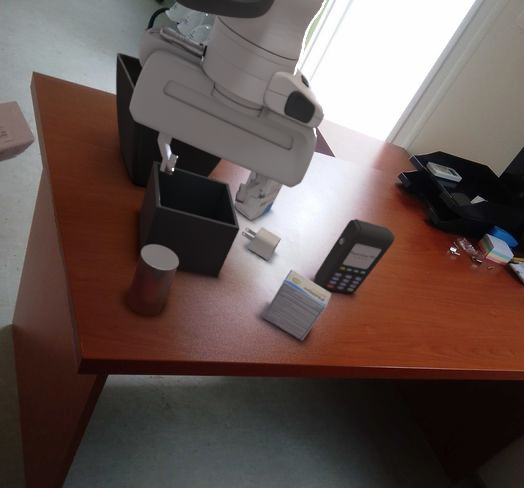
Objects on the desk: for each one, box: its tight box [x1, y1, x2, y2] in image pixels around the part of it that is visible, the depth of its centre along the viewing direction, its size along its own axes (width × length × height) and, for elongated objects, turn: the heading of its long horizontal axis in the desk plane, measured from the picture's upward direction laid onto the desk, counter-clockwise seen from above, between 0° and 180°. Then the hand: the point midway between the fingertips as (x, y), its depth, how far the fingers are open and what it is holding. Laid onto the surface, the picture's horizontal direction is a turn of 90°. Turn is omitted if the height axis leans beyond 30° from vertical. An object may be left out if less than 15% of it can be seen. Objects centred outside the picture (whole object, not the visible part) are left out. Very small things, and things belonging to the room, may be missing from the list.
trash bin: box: [139, 161, 241, 278], centre depth 77 cm, size 13×13×10 cm
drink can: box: [126, 244, 179, 317], centre depth 65 cm, size 5×5×9 cm
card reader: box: [314, 218, 395, 295], centre depth 87 cm, size 9×4×15 cm, turn 106°
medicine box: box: [262, 269, 332, 342], centre depth 75 cm, size 8×4×9 cm, turn 71°
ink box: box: [234, 171, 284, 221], centre depth 95 cm, size 9×5×12 cm, turn 150°
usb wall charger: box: [241, 226, 282, 261], centre depth 89 cm, size 4×7×4 cm, turn 71°
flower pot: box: [115, 52, 223, 187], centre depth 87 cm, size 19×19×17 cm
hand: (204, 186), depth 55 cm, fingers open, 8 cm apart
